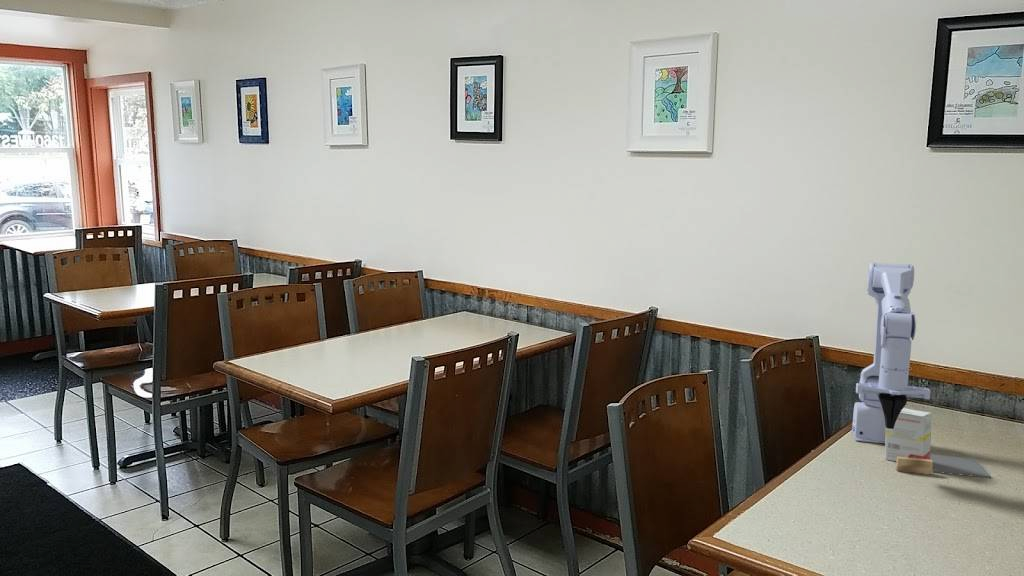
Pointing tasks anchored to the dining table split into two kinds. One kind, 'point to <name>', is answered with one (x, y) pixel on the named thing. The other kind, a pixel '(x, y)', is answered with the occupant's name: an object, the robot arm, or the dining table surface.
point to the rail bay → (914, 465)
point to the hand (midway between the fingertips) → (889, 427)
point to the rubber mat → (958, 465)
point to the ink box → (909, 436)
